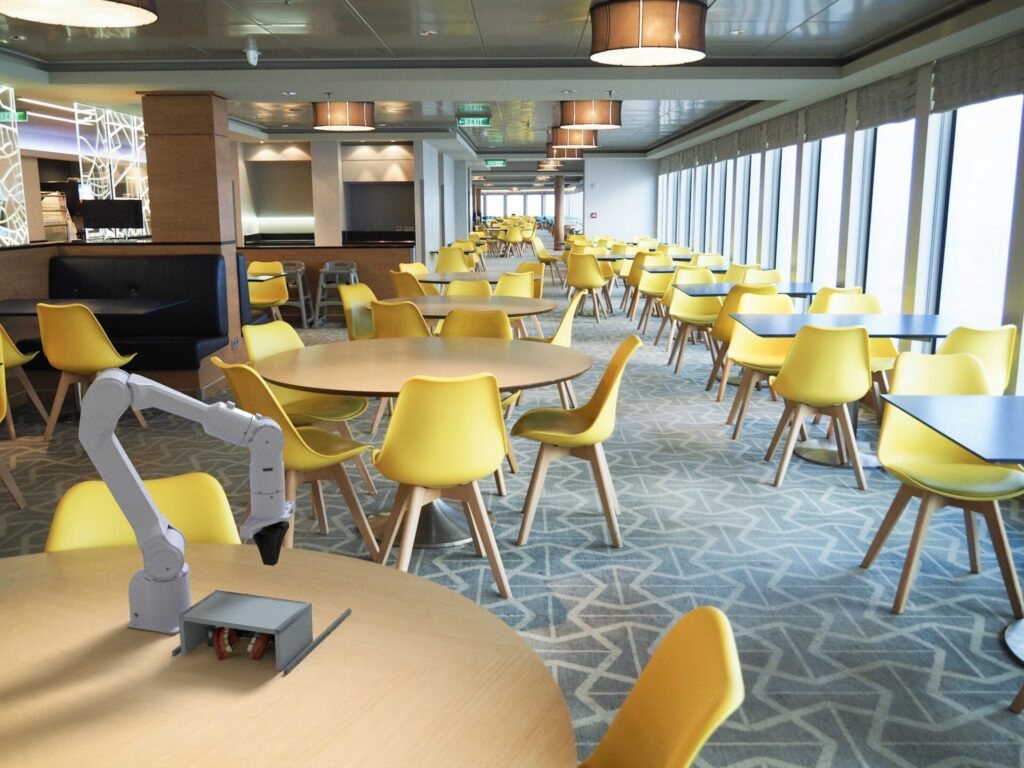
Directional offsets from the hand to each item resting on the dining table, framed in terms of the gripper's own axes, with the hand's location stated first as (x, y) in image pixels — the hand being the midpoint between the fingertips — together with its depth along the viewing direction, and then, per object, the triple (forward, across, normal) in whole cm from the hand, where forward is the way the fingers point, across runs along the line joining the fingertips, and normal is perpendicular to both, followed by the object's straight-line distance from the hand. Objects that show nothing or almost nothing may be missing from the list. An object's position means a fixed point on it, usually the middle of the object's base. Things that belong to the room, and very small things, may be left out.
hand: (270, 563), depth 152 cm
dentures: (+9, -15, -4) cm, 18 cm away
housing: (+8, -14, -4) cm, 17 cm away
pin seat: (+8, -8, -4) cm, 13 cm away
